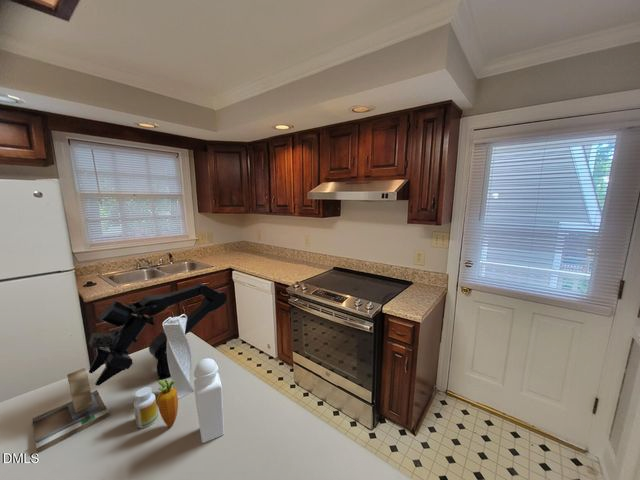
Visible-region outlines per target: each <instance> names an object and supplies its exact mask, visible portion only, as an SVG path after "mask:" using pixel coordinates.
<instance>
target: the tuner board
mask: <svg viewBox="0 0 640 480" xmlns="http://www.w3.org/2000/svg"><path fill="white" fill-rule="evenodd" d="M91 394H93V395H94V397H95V399H96V401H97V404H98V406H99V409H97V410H95V411H93V412H91V413H89V416H90V419H88V420H86V417H85V416H83V417H81V418H79V419H77V420H75V421H72V418H71V415H70V412H69V409H68V405H69V404H71V403H72V400H71V401H68V402H67V403H65V404H62V405H60V406H58V407H55V408H53V409H51V410H48V411H47V412H44V413H41V414H39V415H37V416H35V417H33V418H32V419H31V421H32V425H33V427H32V428H33V434H34V442H35V446H36V447H35V448H36V451H37V454H39V453H41V452H43V451H46V450H47V449H49V448H51V447H53V446H55V445H56V444H59V443H61V442H63V441H65V440H66V439H68V438H71V437H72V436H74V435H76V434H78V433H80V432H82V431H84V430H86V429H88V428H89V427H92V426H94V425H95V424H97V423H99V422H101V421H104V420H106V419H107V418H109V417H110V414H109V410H108V408H107V406H106V405H105V403H104V401H103V399H102V397H101V396H100V393H99V391H98V390H97V389H96V390H94V391H92V392H91Z"/></svg>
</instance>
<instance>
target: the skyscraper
mask: <svg viewBox="0 0 640 480" xmlns="http://www.w3.org/2000/svg"><path fill="white" fill-rule="evenodd" d="M183 316H185V317H183ZM187 316H188V315H186V313H183V314H181V315H179V316H173V317H172V316H169V317H168V318H166V319H165V320H164V321H163V322H162V328H163V332H164V333H165V334H166V337H167V361H168V367H169V371H170V375H171V377H170V379H171V381H172V380H174V383H173V385H172V388H174V389H175V390H176V391H177V397H178V400H179V399H181V398H182V397H185V396H187V395H188V394H190V393H193V392H195V388H194V386H192V385H191V381H190V376H191V370H192V351H191V346H190V345H191V344H190V342H189V339H188V336H187V334H186V335H185V329H186V323H187Z"/></svg>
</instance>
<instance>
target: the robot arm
mask: <svg viewBox="0 0 640 480" xmlns="http://www.w3.org/2000/svg"><path fill="white" fill-rule="evenodd" d="M200 296H203V298H202V301H201V303H200V305H198V307H196V308H195V309H194V310H193V311H191V313H190V314H188V315H186V316H187V323H186V329H185V335H186V336H187V334H188V333H189V332H190V331H192V329H193V328H195V327H196V326H197V325H198V324H199V323H200V322H201V321H202V320H203V319H204V318H205V317H206V316H207V315H209V313H212V312H214V311H216V310H218V309H220V308H221V307H222V306H224V305H225V304H226V302H227V298H228V297H227V294H226V293H225V292H222V291H220V290H218V289H212V288H210V287H209V286H207V285H206V284H205V283H201V282H200V283H199V282H198V283H196V284H194V285H191V286H187V287H185V288H182V289H179V290H175V291H171V292H169V293H165V294H164V293H163V294H152V295H146V296H143V297H141V299H140V300H139V301H136V302H133V303H131V304H128V305H126V304H124V303H122V302H120V301H119V300H116V299H115V300H114V301H113V302H112V303H110V304H109V305H108V306H106V307H105V308H104V309H102V311H101V312H100V314H99V317H98V320H99V321H102V322H104V323H107V324H109V325H112V326H114V327H117V328H118V327H120V326H121V328H120V329H116V330H114V331H113V332H112V333H110V332H93V333H91V336H90V338H89V342H88V345H90V348H93V349H95V351H96V355H95V356H94V359H93V361H92V363H91V365H90V368H89V369H88V373H89V374H93V373H94V372H96V371H97V370H98V369H100V368H101V367H102V366H103V365H104V364H105V365H104V366H105V367H104V368H103V370H102V372H101V374H100V375H99V377H98V378H97V380H96V382H95V383H94V385H95V386H100V385H102V384H104V383H106V381H108V380H110V379H111V378H112V377H114V376H117V375H118V374H119V373H121V372H122V371H126V370H129V369H130V368H131V367H132V365H133V364H134V362H133V359H132V357H131V356H130V355H128V353H130V351H129V349H130V347H131V345H132V344H133V343H135V344H136V343H137V342H138V341H139V340H138V336H139V335H140V334H141V332H142V331H143V330H144V328H145V327H146V325H151V326H154V325H155V321H154V317H153V316H156V315H158V314H160V313H162V312H164V311H165V310H167V309H168V308H169V307H171V306H173V305H175V304H178V303H182V302H184V301H187V300H190V299H193V298H196V297H200ZM148 353H150V354H151V355H152V357H154V358H155V359H156V360H157V362H156V372H157V377H159V381H160V380H162V381H163V380H166V379H168V378H171V375H170V371H169V367H168V361H167V337H166V334H165V332H164V331H161V332H160V333H159V334H158V335H157V336H156V337H155V338H153V339H152V340H151V342H150V343H149V346H148Z"/></svg>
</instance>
